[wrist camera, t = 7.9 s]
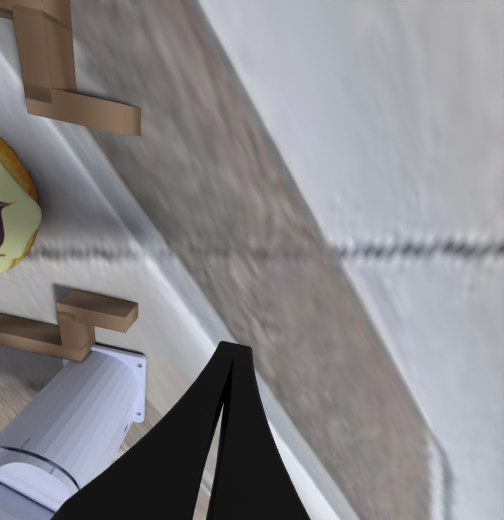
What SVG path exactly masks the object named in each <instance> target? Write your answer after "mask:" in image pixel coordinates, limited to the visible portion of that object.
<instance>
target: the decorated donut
mask: <svg viewBox="0 0 504 520" xmlns="http://www.w3.org/2000/svg"><path fill="white" fill-rule="evenodd" d="M37 196H38V194H37V190H36V188H35V187H34V185H33V182H32V179H31V177H30V175H29V173H28V171H27V170H26V169H25V167H24V166H23V165H22V164H21V162H20V161H19V159H18V157H17V156H16V154H15V153H14V151H13V150H12V149H11V148H10V147H8V146H7V144H6V143H5V142H4V141H3V140H2V139H1V138H0V273H2V272H4V271H6V270H8V269H11V268H13V267H15V266H16V265H17V264H18V263H19V262H20V261H21V260H22V259H23V258H24V257H25V256H26V255H27V254H28V253H29V251H30V249H31V247H32V246H33V244H34V242H35V239H36V235H37V231H38V227H39V224H40V222H41V209H40V207H39V205H38V197H37Z"/></svg>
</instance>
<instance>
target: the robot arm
mask: <svg viewBox="0 0 504 520" xmlns="http://www.w3.org/2000/svg"><path fill="white" fill-rule="evenodd" d="M91 350H92V351H91V352H90V353H89V355H88V356H87V357H86V358H85V359H84V360H83V361H82V362H81V363H79V362H75V361H70V360H66V359H63V366H64V367H63V368H62V369H61V370H60V371H59V372H58V373H57V374H56V375H55V376H54V378H53V379H52V380H51V381H50V382H49V383H48V384H47V385H46V386H45V387H44V388H43V389H42V390H41V391H40V392H39V393H38V394H37V395H36V396H35V397H34V398H33V399H32V400H31V401H30V402H29V404H28V405H27V406H26V407H25V408H24V409H23V410H22V411H21V412H20V413H19V414H18V415H17V416H16V417H15V418H14V419H13V420H12V421H11V422H10V423H9V424H8V425H7V426H6V427H5V428H4V429H3V431H2V432H1V433H0V520H192V519H193V515H194V510H195V506H196V501H197V497H198V493H199V488H200V484H201V479H202V475H203V471H204V467H205V463H206V460H207V456H208V453H209V450H210V446H211V443H212V440H213V436H214V433H215V430H216V426H217V423H218V420H219V416H220V413H221V410H222V407H223V413H222V421H221V429H220V438H219V446H218V454H217V463H216V469H215V476H214V481H213V486H212V491H211V496H210V501H209V507H208V512H207V517H206V520H310V518H309V516H308V514H307V512H306V510H305V508H304V506H303V504H302V502H301V500H300V498H299V496H298V494H297V492H296V490H295V487H294V485H293V483H292V481H291V479H290V477H289V474H288V472H287V470H286V468H285V466H284V463H283V461H282V459H281V456H280V454H279V451H278V449H277V446H276V444H275V441H274V438H273V436H272V433H271V430H270V427H269V425H268V421H267V418H266V415H265V412H264V409H263V405H262V402H261V398H260V394H259V390H258V386H257V381H256V376H255V371H254V365H253V355H252V348H251V347H249V346H244V345H240V344H235V343H230V342H226V341H221V342H219V344H218V347H217V349H216V351H215V352H214V354H213V356H212V357H211V359H210V361H209V362H208V364H207V365H206V367H205V368H204V369H203V371H202V372H201V373H200V375H199V376H198V378H197V379H196V380H195V382H194V383H193V384H192V385H191V386H190V388H189V389H188V390H187V391H186V393H185V394H184V395H183V396H182V397H181V399H180V400H179V401H178V402H177V403H176V404H175V405H174V406H173V408H172V409H171V410H170V411H169V412H168V413H167V414H166V415H165V416H164V417H163V418H162V419H161V420H160V421H159V422H158V423H157V424H156V425H155V426H154V427H153V428H152V429H151V430H150V431H149V432H148V433H147V434H146V435H145V436H144V437H143V438H141V439H140V440H139V441H138V442H137V443H136V444H135V445H134V446H133V447H131V448H130V449H129V450H128V451H127V452H126V453H124V454H123V455H122V456H121V457H120V458H119V459H117V460H116V461H115V462H114V463H113V464H112V465H111V466H110V464H111V462H112V460H113V458H114V457H115V455H116V453H117V451H118V449H119V447H120V445H121V443H122V441H123V439H124V437H125V435H126V434H127V432H128V430H129V428H130V426H131V424H132V422H138V423H141V422H143V420H144V416H145V387H146V358H145V356H143V355H140V354H135V353H131V352H126V351H122V350H117V349H113V348H108V347H104V346H99V345H95V344H94V345H93V346H92V347H91ZM223 403H224V405H223Z"/></svg>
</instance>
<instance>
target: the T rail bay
mask: <svg viewBox="0 0 504 520" xmlns="http://www.w3.org/2000/svg"><path fill="white" fill-rule="evenodd" d="M0 17H2V18H7V19H11V20H14V23H15V30H16V37H17V44H18V50H19V57H20V64H21V71H22V77H23V84H24V91H25V98H26V104H27V111H28V114H33V115H37V116H42V117H46V118H51V119H55V120H60V121H64V122H69V123H73V124H78V125H82V126H87V127H91V128H96V129H101V130H105V131H110V132H114V133H119V134H123V135H139V136H140V129H141V109H140V108H136V107H132V106H128V105H124V104H120V103H116V102H111V101H106V100H102V99H97V98H93V97H88V96H84V95H79V94H77V92H76V79H75V66H74V53H73V40H72V26H71V13H70V0H0ZM56 307H57V314H58V321H59V326H55V325H51V324H46V323H42V322H37V321H33V320H28V319H24V318H19V317H15V316H10V315H6V314H1V313H0V345H3V346H7V347H12V348H16V349H21V350H25V351H30V352H34V353H39V354H43V355H48V356H52V357H57V358H61V359H66V360H70V361H75V362H79V363H81V362H82V361H83V360H84V359H85V358H86V357H87V356H88V355H89V353H90V352H91V351H92V350H91V347H92V346H93V345H94V344H95V345H96V343H95V330H94V326H96V327H101V328H105V329H110V330H115V331H119V332H124V333H126V332H127V330H128V329H129V328H130V327H131V325H132V324H133V323H134V322H135V321H136V319H137V318H138V303H134V302H129V301H125V300H120V299H116V298H111V297H106V296H102V295H97V294H93V293H88V292H84V291H79V290H75V289H74V290H73V291H71V292H70V293H69V294H67V295H66V296H64V297H63V298H62V299H60V300H59V301H57V302H56Z"/></svg>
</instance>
